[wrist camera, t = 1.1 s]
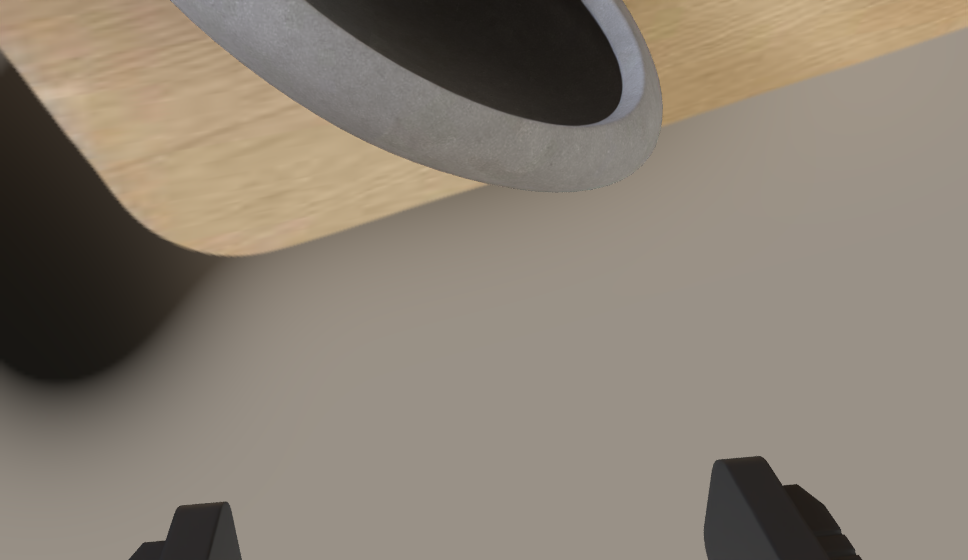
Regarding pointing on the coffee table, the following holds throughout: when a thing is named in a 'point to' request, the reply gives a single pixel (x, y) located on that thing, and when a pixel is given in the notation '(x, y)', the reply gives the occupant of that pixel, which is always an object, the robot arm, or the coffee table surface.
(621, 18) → the planter
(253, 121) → the coffee table surface
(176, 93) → the coffee table surface
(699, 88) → the coffee table surface
